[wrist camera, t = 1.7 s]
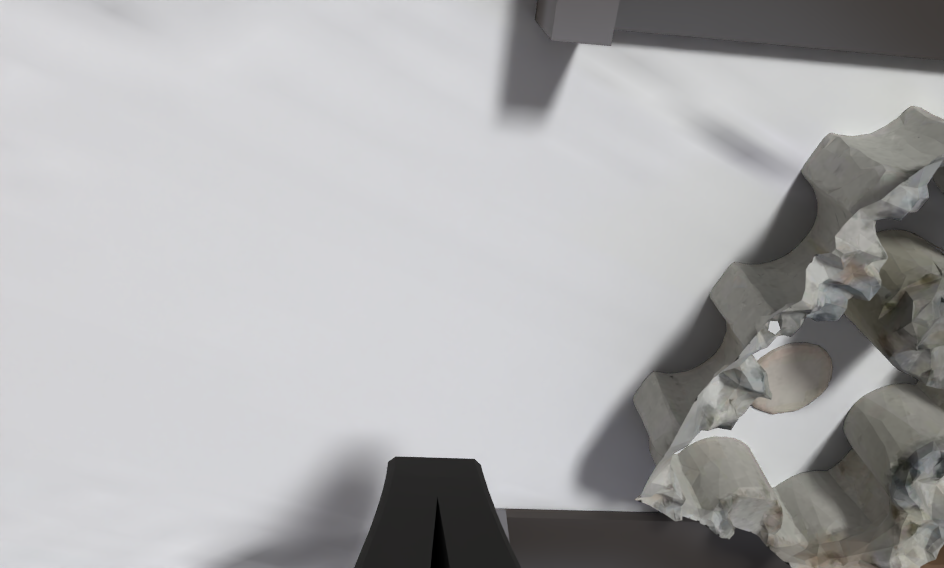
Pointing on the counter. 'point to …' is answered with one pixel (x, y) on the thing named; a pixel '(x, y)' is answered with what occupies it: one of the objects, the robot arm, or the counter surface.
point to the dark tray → (726, 18)
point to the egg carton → (824, 371)
